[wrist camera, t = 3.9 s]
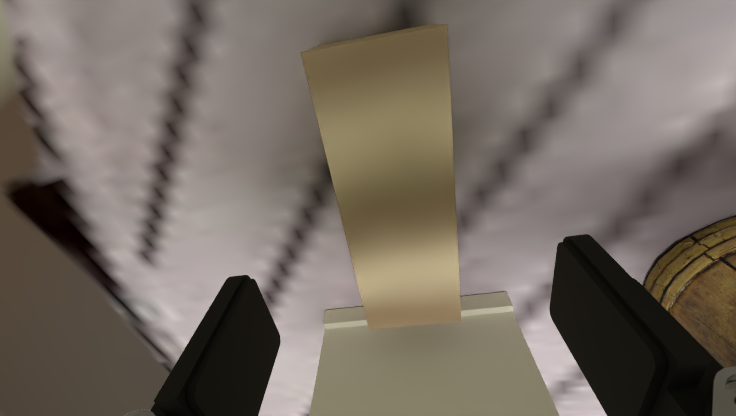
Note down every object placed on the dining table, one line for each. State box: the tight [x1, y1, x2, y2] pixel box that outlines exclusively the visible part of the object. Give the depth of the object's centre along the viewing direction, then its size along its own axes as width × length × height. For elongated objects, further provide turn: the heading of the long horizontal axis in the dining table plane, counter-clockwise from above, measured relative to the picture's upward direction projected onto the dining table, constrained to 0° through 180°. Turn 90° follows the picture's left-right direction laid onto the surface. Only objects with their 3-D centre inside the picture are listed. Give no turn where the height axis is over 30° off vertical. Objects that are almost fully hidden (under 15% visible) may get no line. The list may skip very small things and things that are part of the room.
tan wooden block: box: [301, 24, 461, 330], centre depth 16 cm, size 14×5×4 cm, turn 10°
